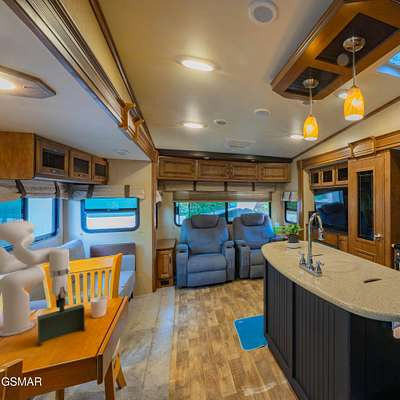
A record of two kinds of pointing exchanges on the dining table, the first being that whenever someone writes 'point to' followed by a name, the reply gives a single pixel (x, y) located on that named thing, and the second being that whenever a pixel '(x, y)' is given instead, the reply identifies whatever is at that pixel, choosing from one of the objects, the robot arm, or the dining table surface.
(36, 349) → the dining table surface
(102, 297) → the white cup
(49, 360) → the dining table surface
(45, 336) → the dustpan
